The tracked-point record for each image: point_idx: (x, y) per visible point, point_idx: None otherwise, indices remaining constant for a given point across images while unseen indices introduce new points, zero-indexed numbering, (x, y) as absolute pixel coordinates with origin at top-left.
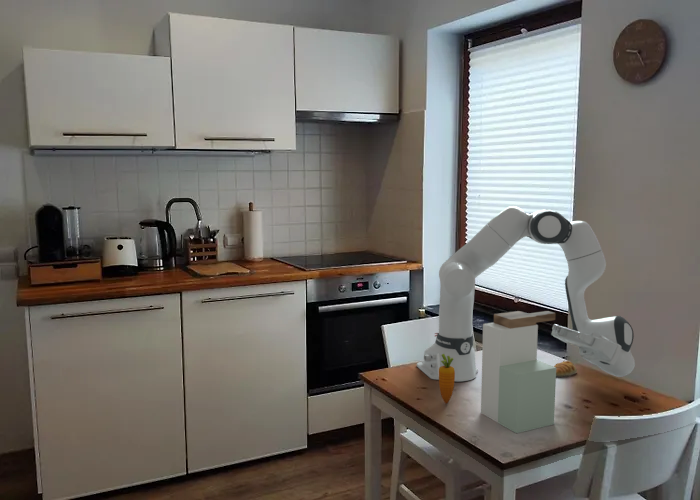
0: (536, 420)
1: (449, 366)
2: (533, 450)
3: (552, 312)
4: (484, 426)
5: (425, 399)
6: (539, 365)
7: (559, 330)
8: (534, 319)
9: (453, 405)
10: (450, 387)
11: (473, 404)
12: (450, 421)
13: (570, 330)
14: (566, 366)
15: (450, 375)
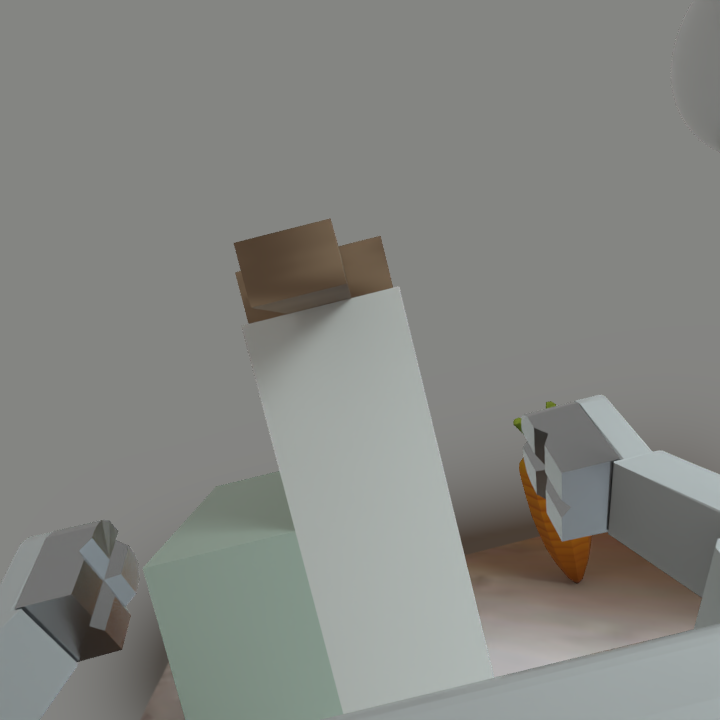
0: None
1: None
2: (162, 698)
3: (265, 236)
4: None
5: (622, 548)
6: (225, 529)
7: (563, 520)
8: (243, 291)
9: (559, 595)
10: (535, 521)
11: (562, 644)
12: None
13: (579, 666)
14: None
15: (521, 477)
